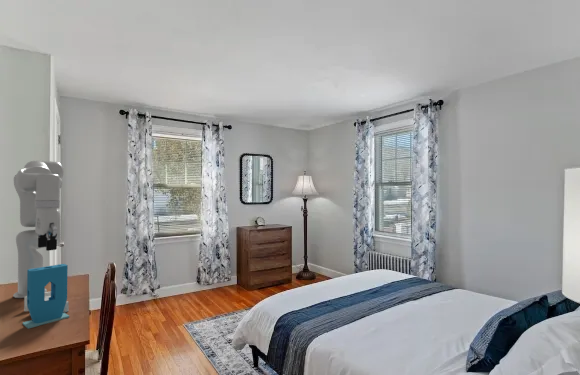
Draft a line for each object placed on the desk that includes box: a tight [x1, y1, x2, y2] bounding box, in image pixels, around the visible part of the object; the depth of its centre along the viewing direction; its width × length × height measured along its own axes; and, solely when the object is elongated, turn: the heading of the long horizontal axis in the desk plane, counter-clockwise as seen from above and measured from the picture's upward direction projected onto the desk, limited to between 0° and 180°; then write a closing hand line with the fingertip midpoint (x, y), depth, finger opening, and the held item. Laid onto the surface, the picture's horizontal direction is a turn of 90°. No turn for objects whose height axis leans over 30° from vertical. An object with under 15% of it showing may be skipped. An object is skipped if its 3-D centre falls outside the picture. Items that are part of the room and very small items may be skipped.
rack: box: [23, 290, 70, 317], centre depth 131 cm, size 16×11×6 cm
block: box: [27, 263, 68, 323], centre depth 122 cm, size 12×5×20 cm, turn 144°
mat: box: [22, 312, 70, 329], centre depth 121 cm, size 7×13×1 cm, turn 143°
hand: (47, 248), depth 122 cm, fingers open, 9 cm apart
